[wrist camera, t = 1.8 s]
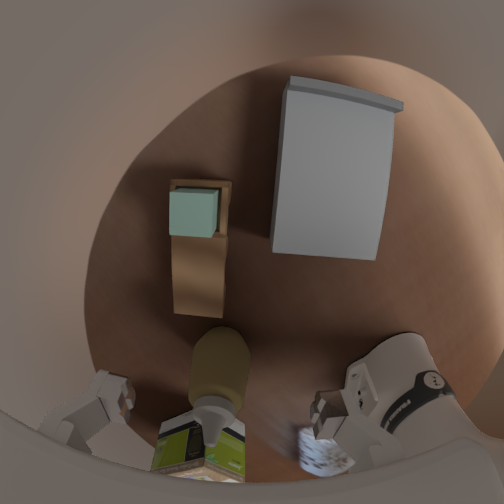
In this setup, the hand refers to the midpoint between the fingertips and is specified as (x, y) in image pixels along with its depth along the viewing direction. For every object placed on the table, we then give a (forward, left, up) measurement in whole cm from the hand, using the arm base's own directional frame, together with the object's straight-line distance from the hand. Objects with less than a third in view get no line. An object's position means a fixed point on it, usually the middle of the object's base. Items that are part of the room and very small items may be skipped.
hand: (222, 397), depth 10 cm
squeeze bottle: (-16, +2, -25) cm, 29 cm away
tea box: (-39, +6, -25) cm, 46 cm away
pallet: (-1, +5, -24) cm, 25 cm away
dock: (+9, -9, -24) cm, 28 cm away
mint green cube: (+4, +5, -20) cm, 21 cm away
